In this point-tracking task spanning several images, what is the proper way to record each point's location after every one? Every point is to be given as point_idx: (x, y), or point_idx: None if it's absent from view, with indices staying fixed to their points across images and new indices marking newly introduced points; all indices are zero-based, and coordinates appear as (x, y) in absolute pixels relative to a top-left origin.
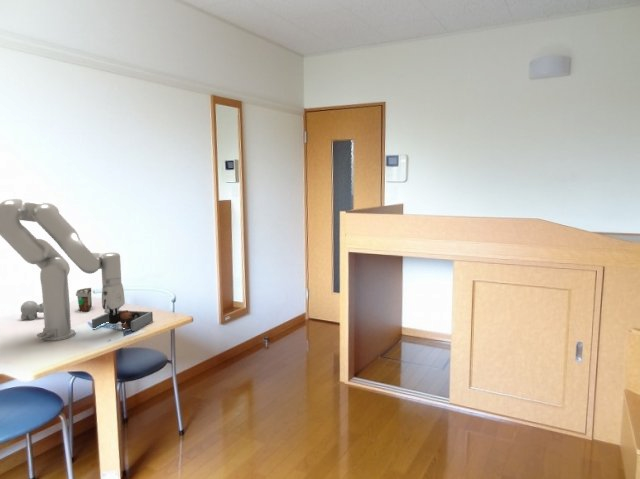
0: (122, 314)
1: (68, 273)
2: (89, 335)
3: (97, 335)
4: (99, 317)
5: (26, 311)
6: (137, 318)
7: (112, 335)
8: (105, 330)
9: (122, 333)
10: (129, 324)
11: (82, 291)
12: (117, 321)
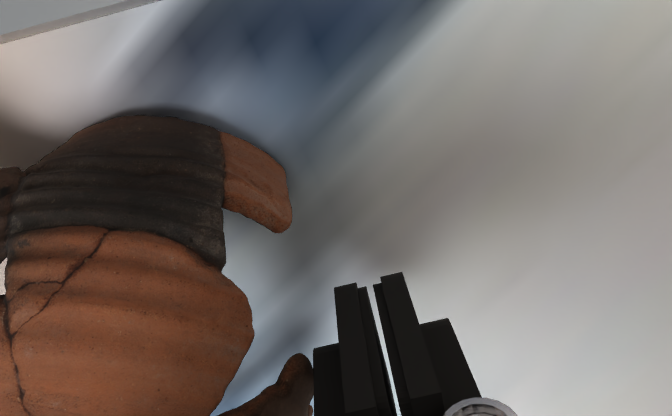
0: (174, 398)
1: None
2: (643, 362)
3: (624, 284)
4: None
5: None
6: (13, 2)
7: (580, 99)
8: None
9: (446, 30)
10: (179, 148)
11: None
12: (357, 300)
